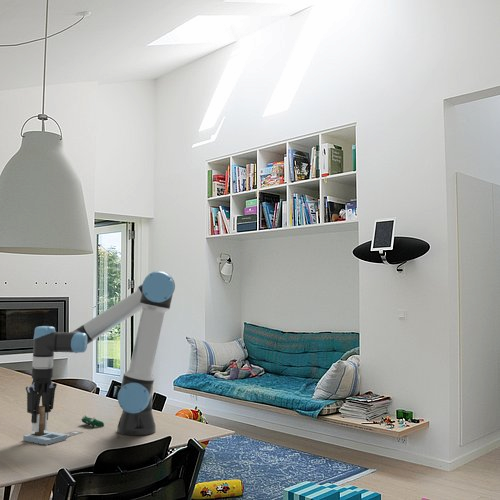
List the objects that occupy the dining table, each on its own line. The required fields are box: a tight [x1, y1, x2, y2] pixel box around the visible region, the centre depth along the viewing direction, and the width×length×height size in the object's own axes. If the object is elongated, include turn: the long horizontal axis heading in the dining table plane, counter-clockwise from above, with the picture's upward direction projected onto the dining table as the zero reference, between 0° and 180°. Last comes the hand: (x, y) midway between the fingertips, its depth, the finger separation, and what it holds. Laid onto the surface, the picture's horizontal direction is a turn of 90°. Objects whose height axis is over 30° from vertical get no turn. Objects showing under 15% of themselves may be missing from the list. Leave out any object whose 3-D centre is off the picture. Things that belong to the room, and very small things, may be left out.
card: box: [64, 430, 84, 438], centre depth 240 cm, size 5×10×1 cm, turn 152°
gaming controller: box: [80, 414, 105, 428], centre depth 256 cm, size 9×4×6 cm
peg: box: [34, 405, 45, 436], centre depth 232 cm, size 3×3×12 cm
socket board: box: [22, 430, 68, 446], centre depth 230 cm, size 12×10×2 cm
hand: (39, 430), depth 232 cm, fingers closed on peg, 3 cm apart
